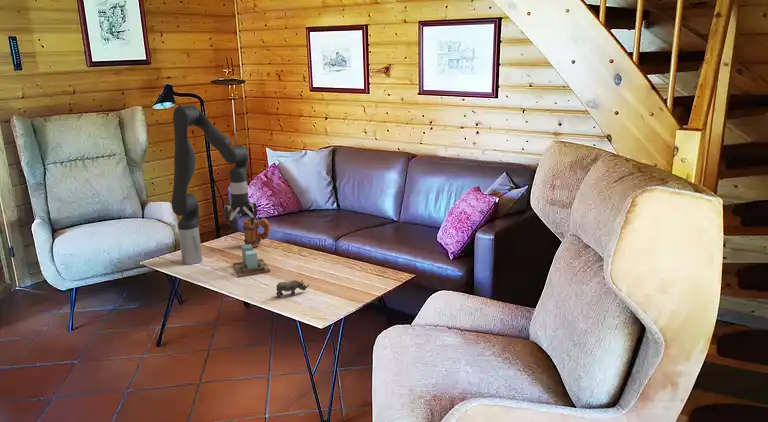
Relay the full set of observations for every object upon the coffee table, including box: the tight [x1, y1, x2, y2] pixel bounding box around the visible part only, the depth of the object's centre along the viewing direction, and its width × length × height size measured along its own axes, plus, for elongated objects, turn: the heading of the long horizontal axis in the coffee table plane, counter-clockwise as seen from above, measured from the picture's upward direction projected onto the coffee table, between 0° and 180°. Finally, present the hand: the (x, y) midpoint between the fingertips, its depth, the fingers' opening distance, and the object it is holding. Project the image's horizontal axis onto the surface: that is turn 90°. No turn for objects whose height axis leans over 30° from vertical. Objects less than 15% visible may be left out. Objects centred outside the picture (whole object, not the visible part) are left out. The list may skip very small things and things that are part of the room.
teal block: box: [245, 249, 258, 269], centre depth 261 cm, size 4×4×8 cm
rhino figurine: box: [275, 279, 310, 298], centre depth 233 cm, size 4×14×6 cm, turn 108°
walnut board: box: [232, 244, 271, 278], centre depth 264 cm, size 18×14×9 cm
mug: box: [242, 217, 271, 248], centre depth 295 cm, size 15×8×15 cm, turn 80°
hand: (242, 226), depth 257 cm, fingers open, 8 cm apart
